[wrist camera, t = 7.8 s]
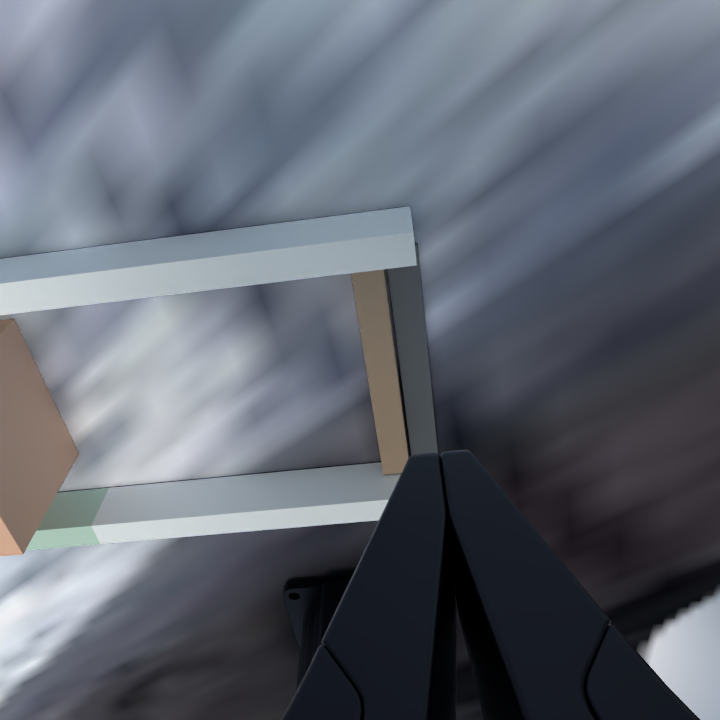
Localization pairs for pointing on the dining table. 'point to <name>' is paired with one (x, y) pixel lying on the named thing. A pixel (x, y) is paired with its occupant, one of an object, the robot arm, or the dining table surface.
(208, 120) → the dining table surface
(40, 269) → the trap lane
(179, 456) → the dining table surface
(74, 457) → the block
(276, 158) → the dining table surface
